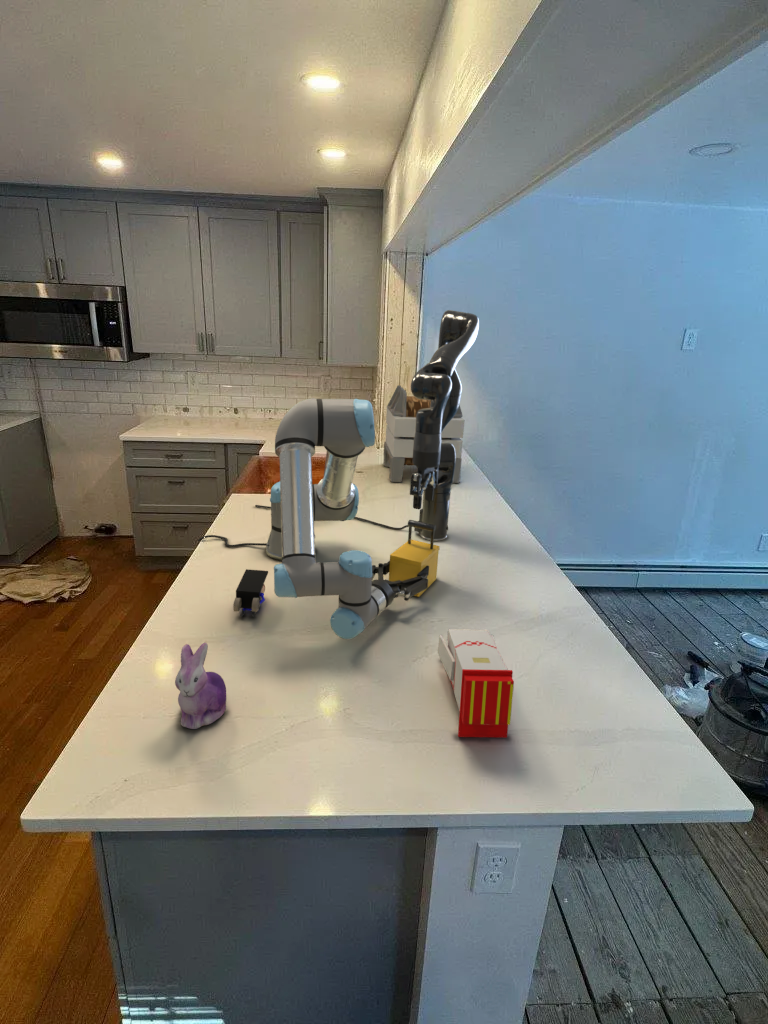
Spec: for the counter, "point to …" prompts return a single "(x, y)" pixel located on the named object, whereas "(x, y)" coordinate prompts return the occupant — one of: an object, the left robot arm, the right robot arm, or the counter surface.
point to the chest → (412, 571)
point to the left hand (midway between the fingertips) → (410, 566)
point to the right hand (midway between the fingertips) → (423, 504)
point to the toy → (478, 682)
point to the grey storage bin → (403, 433)
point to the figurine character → (250, 591)
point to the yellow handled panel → (416, 547)
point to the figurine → (199, 690)
